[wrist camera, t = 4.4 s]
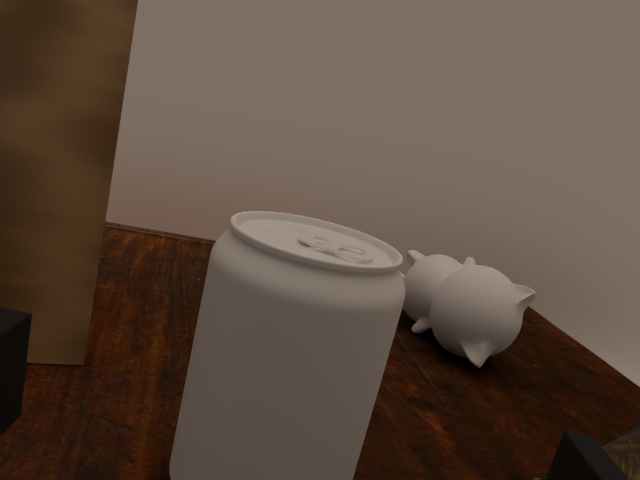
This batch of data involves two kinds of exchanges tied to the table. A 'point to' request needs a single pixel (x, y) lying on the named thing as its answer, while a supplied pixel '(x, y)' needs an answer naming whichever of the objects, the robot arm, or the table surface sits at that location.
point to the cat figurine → (464, 305)
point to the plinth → (58, 160)
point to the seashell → (624, 453)
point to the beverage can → (287, 351)
